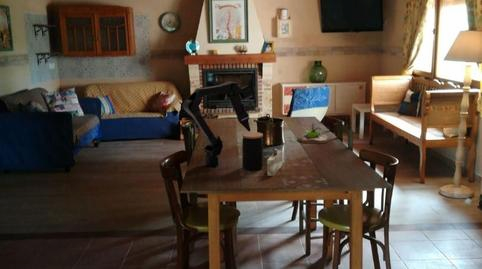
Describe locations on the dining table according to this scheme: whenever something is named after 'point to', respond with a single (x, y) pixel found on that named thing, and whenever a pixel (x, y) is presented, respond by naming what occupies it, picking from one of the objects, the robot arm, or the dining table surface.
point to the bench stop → (274, 162)
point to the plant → (313, 137)
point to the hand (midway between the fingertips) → (249, 130)
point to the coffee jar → (252, 151)
